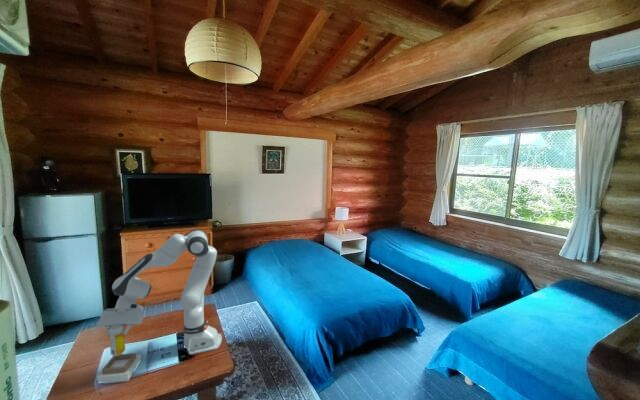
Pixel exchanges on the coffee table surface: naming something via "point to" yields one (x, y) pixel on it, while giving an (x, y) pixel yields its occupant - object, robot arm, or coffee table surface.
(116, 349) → the beer can
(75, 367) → the coffee table surface
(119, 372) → the display plinth
